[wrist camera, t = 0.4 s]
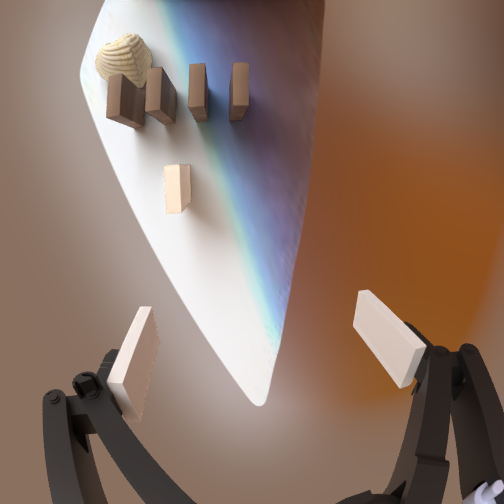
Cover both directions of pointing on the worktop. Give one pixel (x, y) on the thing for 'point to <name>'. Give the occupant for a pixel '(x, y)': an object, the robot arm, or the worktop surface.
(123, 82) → the domino
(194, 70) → the domino
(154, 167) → the worktop surface
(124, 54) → the seashell
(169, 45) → the worktop surface
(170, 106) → the domino
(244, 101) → the domino
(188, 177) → the domino
